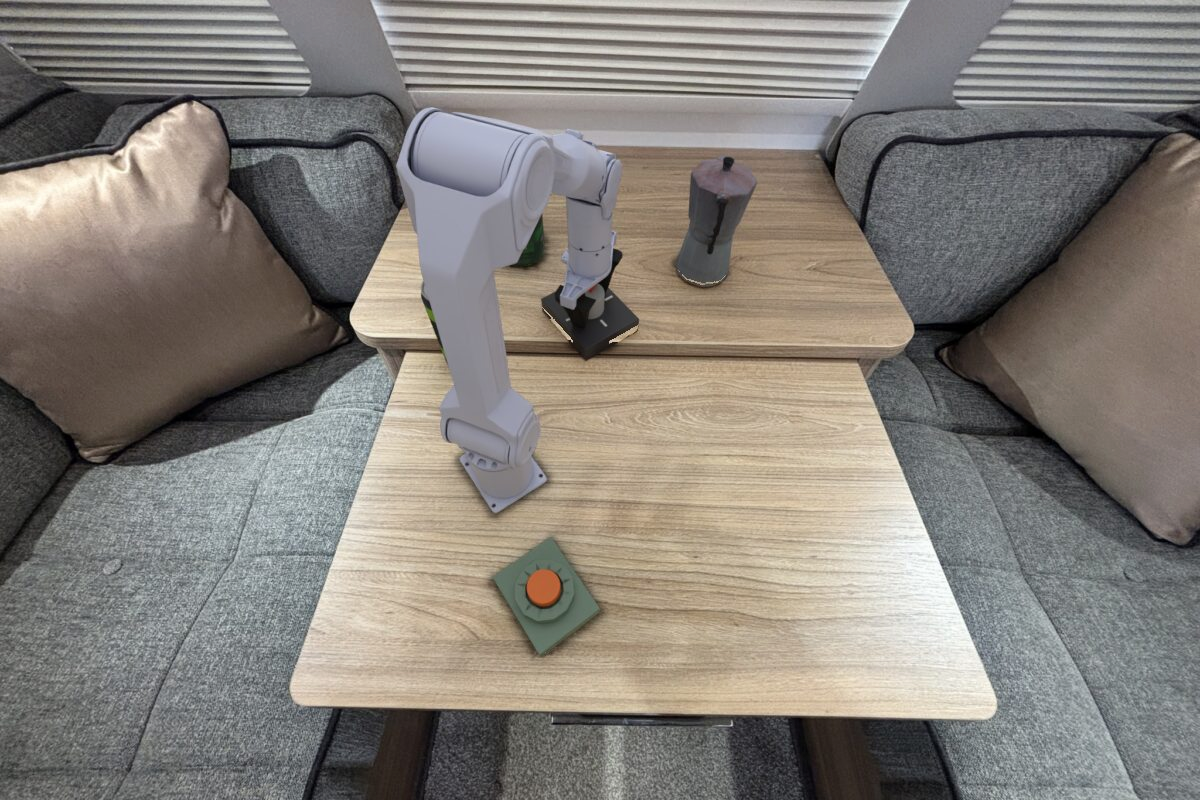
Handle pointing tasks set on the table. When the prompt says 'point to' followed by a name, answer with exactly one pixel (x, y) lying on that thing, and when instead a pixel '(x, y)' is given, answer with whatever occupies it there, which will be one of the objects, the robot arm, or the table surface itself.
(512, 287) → the table surface
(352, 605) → the table surface
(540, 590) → the power button
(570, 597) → the base
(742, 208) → the moka pot
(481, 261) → the robot arm
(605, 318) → the dial panel
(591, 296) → the temp dial
